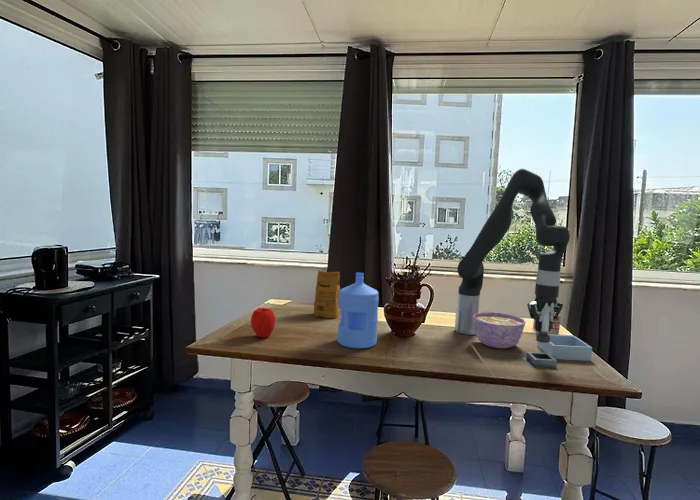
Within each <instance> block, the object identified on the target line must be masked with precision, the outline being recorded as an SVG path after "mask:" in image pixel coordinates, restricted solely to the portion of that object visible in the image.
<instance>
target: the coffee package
mask: <svg viewBox="0 0 700 500" xmlns="http://www.w3.org/2000/svg"><path fill="white" fill-rule="evenodd" d="M340 273H341V272H340V271H323V270H321V269H320V270H318V272H317V277H316V286H315V294H314V295H315V296H314V301H313V317H315V318H317V317H318V318H319V317H321V318H324V319H335V318H337V317H338V316H339V315H340V308H339V293H340V290H341V285H340V280H341V279H340Z"/></svg>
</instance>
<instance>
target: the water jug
mask: <svg viewBox="0 0 700 500" xmlns="http://www.w3.org/2000/svg"><path fill="white" fill-rule="evenodd" d="M364 274H365V273H364V272H358V271H357V272H355V282H354V283H352V284H350V285H348V286H345V287H343V288H340V293H339V302H338V304H339V310H341V311H340V312H341V313H340V322H339V323H338V325H337V342H338V344H340V345H341V346H343V347H345V348H350V349H360V350H361V349H368V348H372V347H374V346H376V344H377V342H378V341H377V340H378V336H377V334H378V323H379V317H378V311H379V291H378V290H377V289H375V288H373V287H371V286H369V285H367V284H366V283H365V282H364V279H365V278H364Z"/></svg>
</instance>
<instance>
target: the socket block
mask: <svg viewBox="0 0 700 500" xmlns="http://www.w3.org/2000/svg"><path fill="white" fill-rule="evenodd" d="M521 358H522V359H523V360H524V362H526V363H527V365H528V366H529V367H530V368H531V369H532V368H533V369H534V368H535V369H548V370H549V369H550V370H562V369H561V367H560V366H558V365H557V363H558V359H554V358H553V357H552V356H551V355H550V354H549V353H545V352H535V351H533V352H532V351H527V352H526V357H525V356H524V357H523V356H522V357H521Z"/></svg>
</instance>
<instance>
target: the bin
mask: <svg viewBox="0 0 700 500" xmlns="http://www.w3.org/2000/svg"><path fill="white" fill-rule="evenodd" d="M548 335H549V334H548ZM536 345H537V347H538V348H539V349H540V350H541V351H542V353H549V354H550V355H551V356H552V357H553V358H554V359H556V360H564V361H565V360H567V361H583V362H584V361H586V362H591V361H592V355H593V347H592V346H591V345H589V344H588V343H586V342H584V341H583V340H582V339H580V338H578V337H577V336H575V335H567V334H564V335H563V334H559V335H550V342H548V343H545V342H539V341H537V343H536Z"/></svg>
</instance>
